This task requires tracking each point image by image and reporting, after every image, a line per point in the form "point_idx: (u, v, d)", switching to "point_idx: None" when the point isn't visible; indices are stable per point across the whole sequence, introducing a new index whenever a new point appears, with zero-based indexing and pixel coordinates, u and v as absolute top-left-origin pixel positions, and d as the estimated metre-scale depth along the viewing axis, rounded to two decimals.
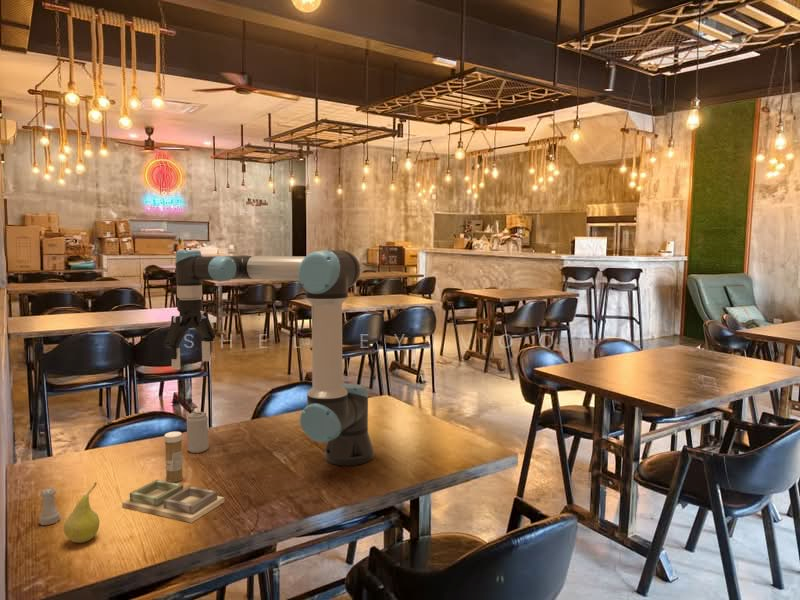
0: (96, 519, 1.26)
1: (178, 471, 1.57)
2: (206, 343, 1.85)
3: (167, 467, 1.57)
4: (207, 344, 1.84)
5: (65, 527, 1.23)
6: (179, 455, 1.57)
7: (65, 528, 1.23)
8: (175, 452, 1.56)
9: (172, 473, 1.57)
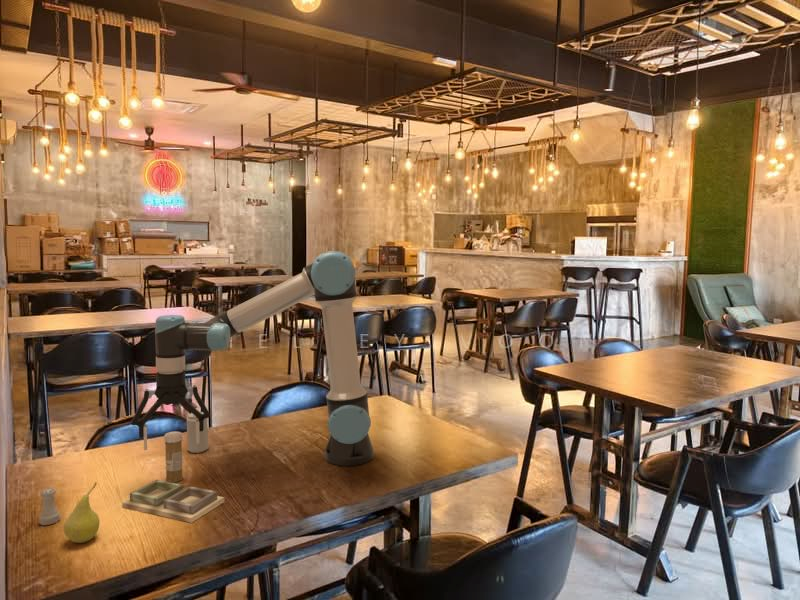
0: (96, 519, 1.26)
1: (178, 471, 1.57)
2: (196, 422, 1.59)
3: (167, 467, 1.57)
4: None
5: (65, 527, 1.23)
6: (179, 455, 1.57)
7: (65, 528, 1.23)
8: (175, 452, 1.56)
9: (172, 473, 1.57)
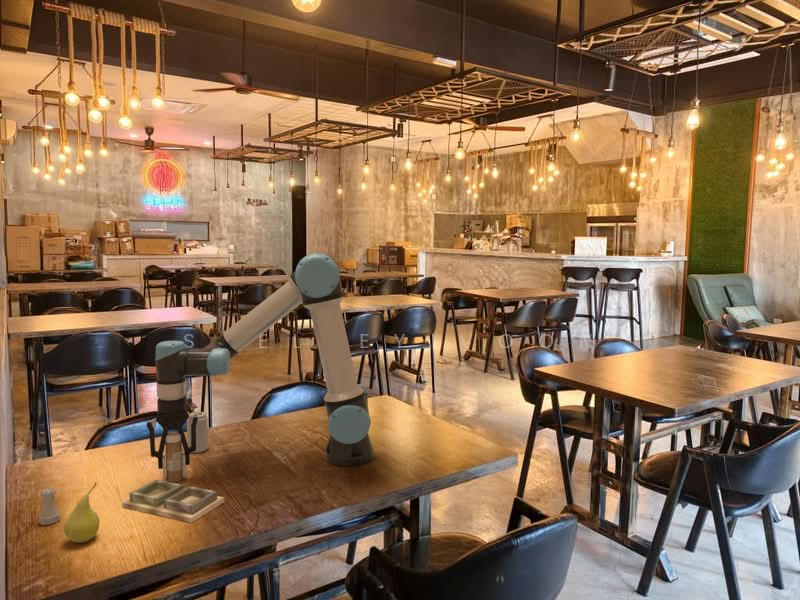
0: (96, 519, 1.26)
1: (178, 471, 1.57)
2: (182, 456, 1.59)
3: (167, 467, 1.57)
4: (182, 458, 1.58)
5: (65, 527, 1.23)
6: (179, 455, 1.57)
7: (65, 528, 1.23)
8: (175, 452, 1.56)
9: (172, 473, 1.57)
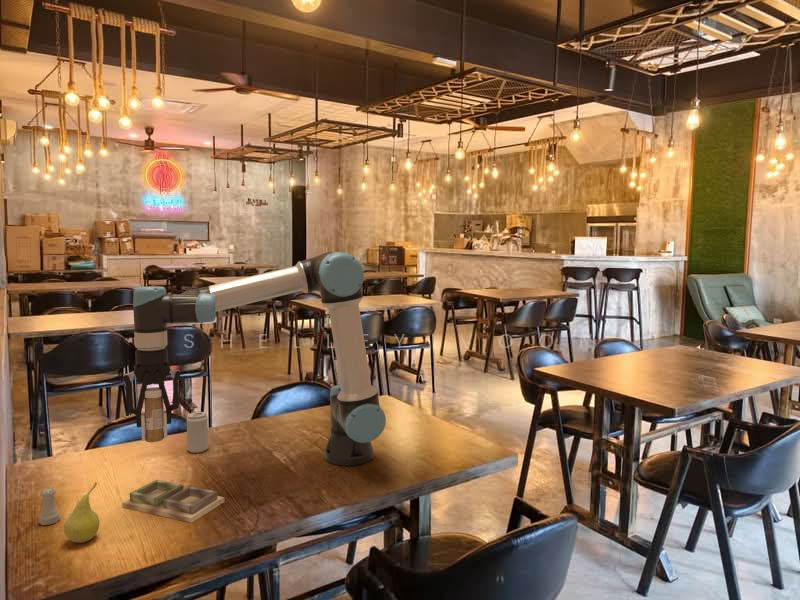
0: (96, 519, 1.26)
1: (158, 430, 1.43)
2: (163, 414, 1.44)
3: (146, 425, 1.42)
4: (163, 416, 1.44)
5: (65, 527, 1.23)
6: (159, 412, 1.43)
7: (65, 528, 1.23)
8: (155, 408, 1.42)
9: (152, 432, 1.42)
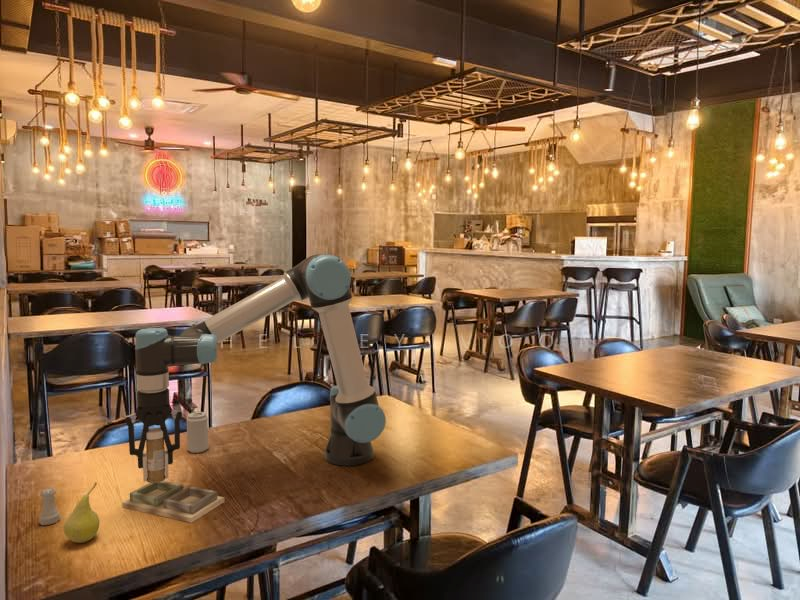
0: (96, 519, 1.26)
1: (160, 470, 1.44)
2: None
3: (148, 466, 1.43)
4: None
5: (65, 527, 1.23)
6: (161, 453, 1.44)
7: (65, 528, 1.23)
8: (156, 449, 1.43)
9: (154, 473, 1.43)
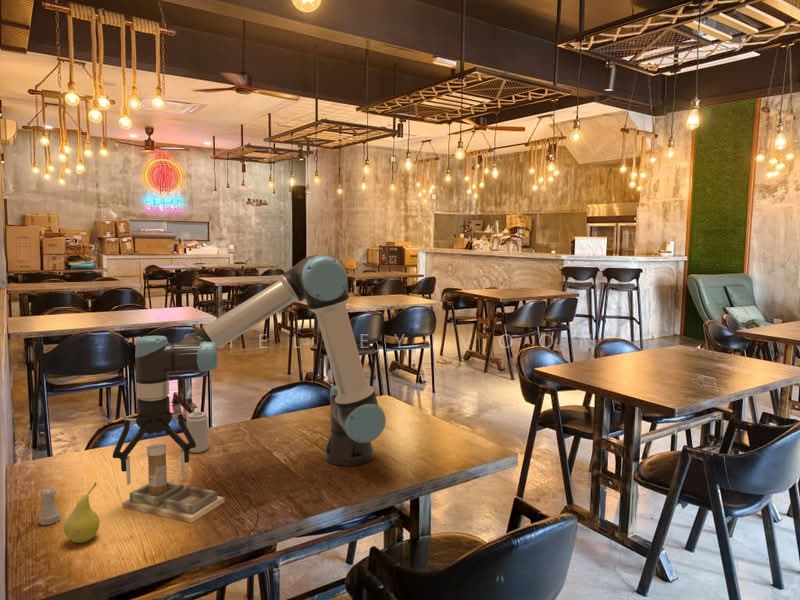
0: (96, 519, 1.26)
1: (162, 486, 1.44)
2: (181, 453, 1.46)
3: (150, 482, 1.43)
4: (181, 455, 1.46)
5: (65, 527, 1.23)
6: (163, 469, 1.44)
7: (65, 528, 1.23)
8: (158, 466, 1.43)
9: (156, 489, 1.43)
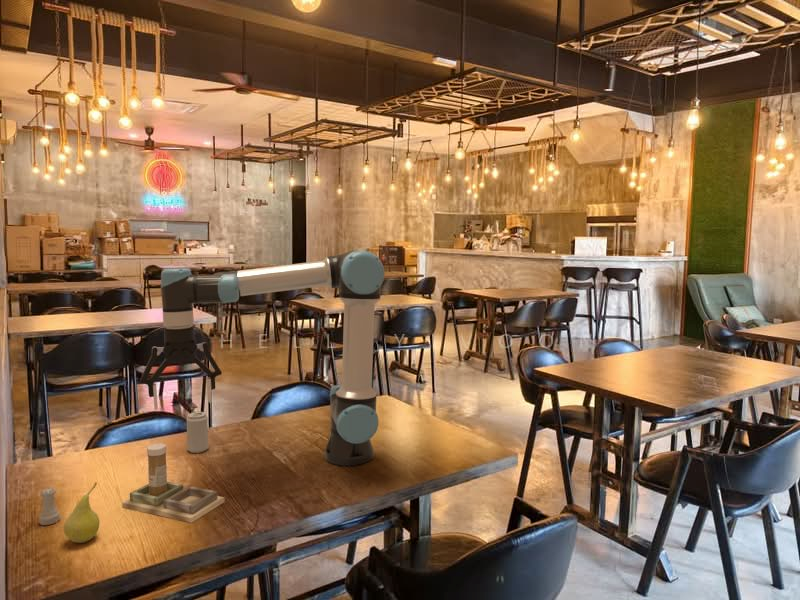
0: (96, 519, 1.26)
1: (162, 487, 1.44)
2: (207, 380, 1.53)
3: (150, 482, 1.43)
4: (207, 382, 1.53)
5: (65, 527, 1.23)
6: (163, 469, 1.44)
7: (65, 528, 1.23)
8: (158, 466, 1.43)
9: (156, 489, 1.43)
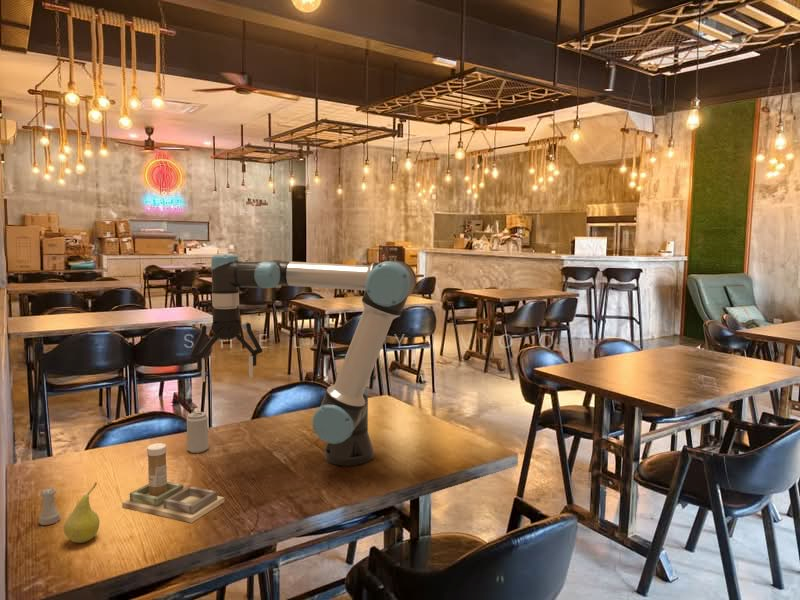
0: (96, 519, 1.26)
1: (162, 486, 1.44)
2: (249, 357, 1.68)
3: (150, 482, 1.43)
4: (250, 358, 1.68)
5: (65, 527, 1.23)
6: (163, 469, 1.44)
7: (65, 528, 1.23)
8: (158, 466, 1.43)
9: (156, 489, 1.43)
